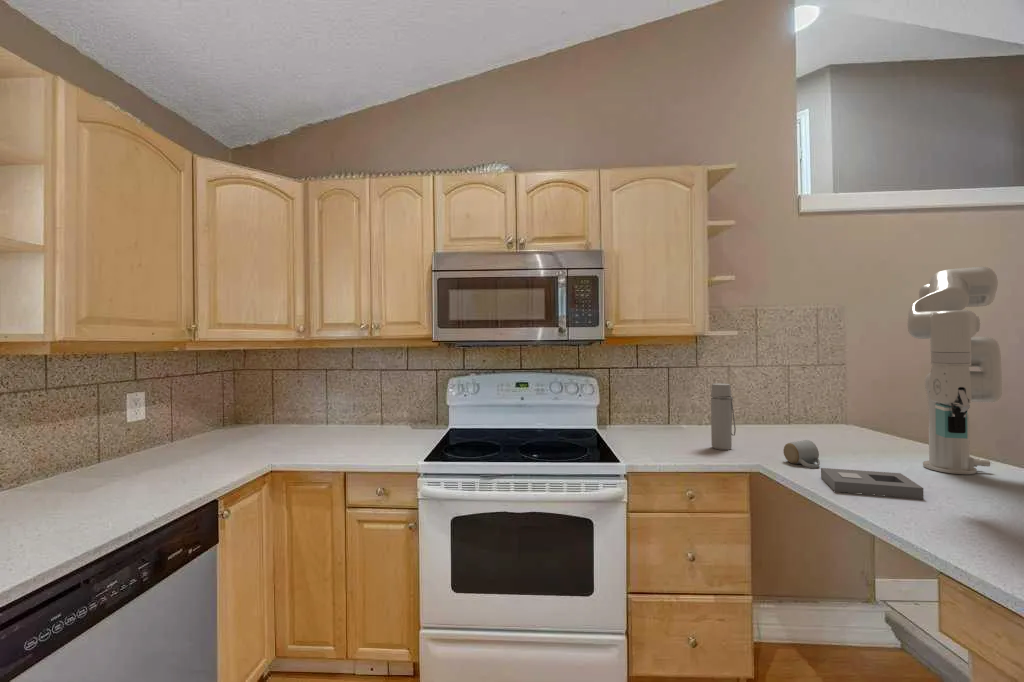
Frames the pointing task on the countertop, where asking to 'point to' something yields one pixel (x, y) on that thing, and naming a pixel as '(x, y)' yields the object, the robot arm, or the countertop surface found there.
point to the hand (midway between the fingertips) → (951, 429)
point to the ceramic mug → (802, 453)
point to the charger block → (946, 422)
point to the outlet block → (871, 483)
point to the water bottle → (721, 416)
